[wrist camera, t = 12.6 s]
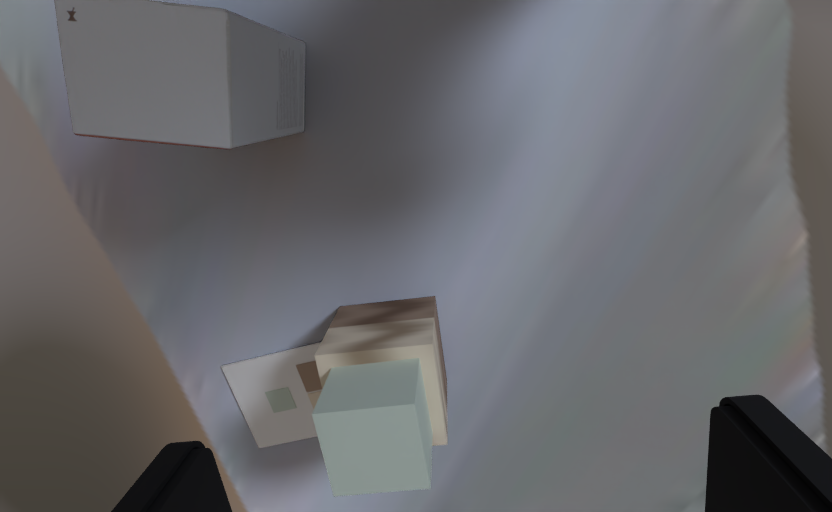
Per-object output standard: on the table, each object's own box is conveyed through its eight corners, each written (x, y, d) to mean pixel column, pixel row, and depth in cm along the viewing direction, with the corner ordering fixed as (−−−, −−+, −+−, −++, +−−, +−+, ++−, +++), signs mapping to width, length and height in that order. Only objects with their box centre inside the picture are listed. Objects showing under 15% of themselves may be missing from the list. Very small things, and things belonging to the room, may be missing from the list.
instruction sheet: (349, 335, 40) (348, 336, 40) (380, 421, 42) (380, 423, 42) (222, 365, 42) (220, 367, 41) (259, 447, 44) (258, 449, 44)
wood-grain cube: (434, 296, 38) (432, 344, 31) (446, 380, 41) (447, 444, 33) (339, 306, 39) (314, 355, 31) (356, 388, 41) (337, 453, 34)
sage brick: (419, 357, 31) (414, 403, 26) (432, 432, 33) (430, 488, 28) (331, 367, 32) (311, 414, 27) (349, 440, 33) (333, 496, 29)
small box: (200, 124, 35) (68, 136, 23) (195, 31, 33) (46, -12, 21) (307, 134, 35) (232, 151, 23) (308, 41, 33) (226, 4, 21)
